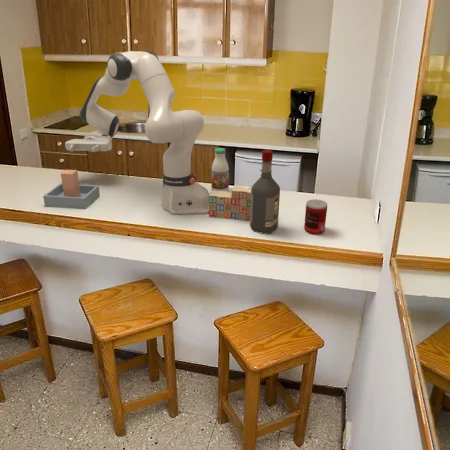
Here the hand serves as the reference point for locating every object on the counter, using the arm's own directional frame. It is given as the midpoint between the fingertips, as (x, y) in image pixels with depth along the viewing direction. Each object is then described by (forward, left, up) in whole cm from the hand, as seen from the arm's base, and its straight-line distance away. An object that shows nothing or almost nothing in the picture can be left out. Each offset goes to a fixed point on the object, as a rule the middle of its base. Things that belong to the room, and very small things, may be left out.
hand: (81, 149), depth 199 cm
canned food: (-102, +26, -19) cm, 107 cm away
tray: (0, +13, -19) cm, 23 cm away
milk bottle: (-61, -7, -19) cm, 64 cm away
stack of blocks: (-71, +19, -19) cm, 76 cm away
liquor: (-83, +28, -19) cm, 89 cm away
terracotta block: (0, +13, -18) cm, 22 cm away
